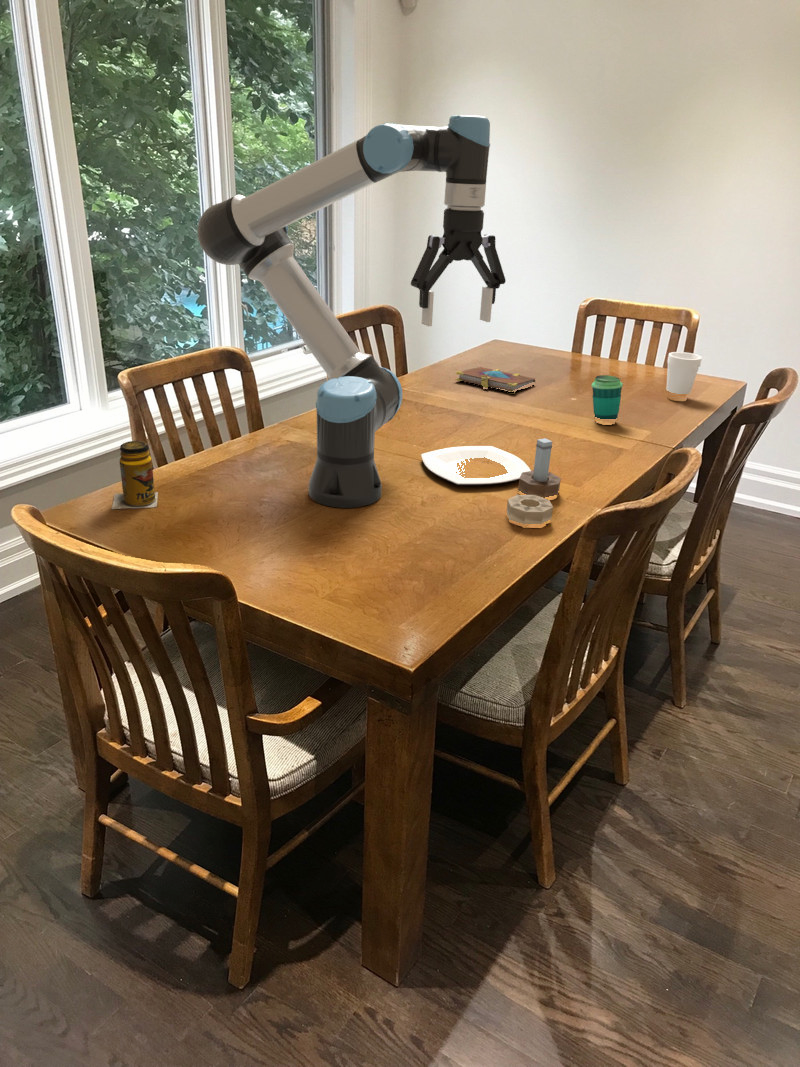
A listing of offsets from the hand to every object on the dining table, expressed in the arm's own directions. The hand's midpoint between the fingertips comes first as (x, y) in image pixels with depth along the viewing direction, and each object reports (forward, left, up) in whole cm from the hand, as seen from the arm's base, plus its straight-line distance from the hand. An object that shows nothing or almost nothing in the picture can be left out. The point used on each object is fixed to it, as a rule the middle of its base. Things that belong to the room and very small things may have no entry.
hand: (456, 323), depth 163 cm
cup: (+63, +22, -35) cm, 75 cm away
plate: (+11, +5, -35) cm, 37 cm away
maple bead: (+6, -22, -35) cm, 42 cm away
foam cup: (+100, +31, -35) cm, 110 cm away
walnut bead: (+16, -12, -35) cm, 40 cm away
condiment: (-62, +17, -35) cm, 73 cm away
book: (+55, +66, -35) cm, 93 cm away
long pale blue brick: (+16, -12, -35) cm, 40 cm away
